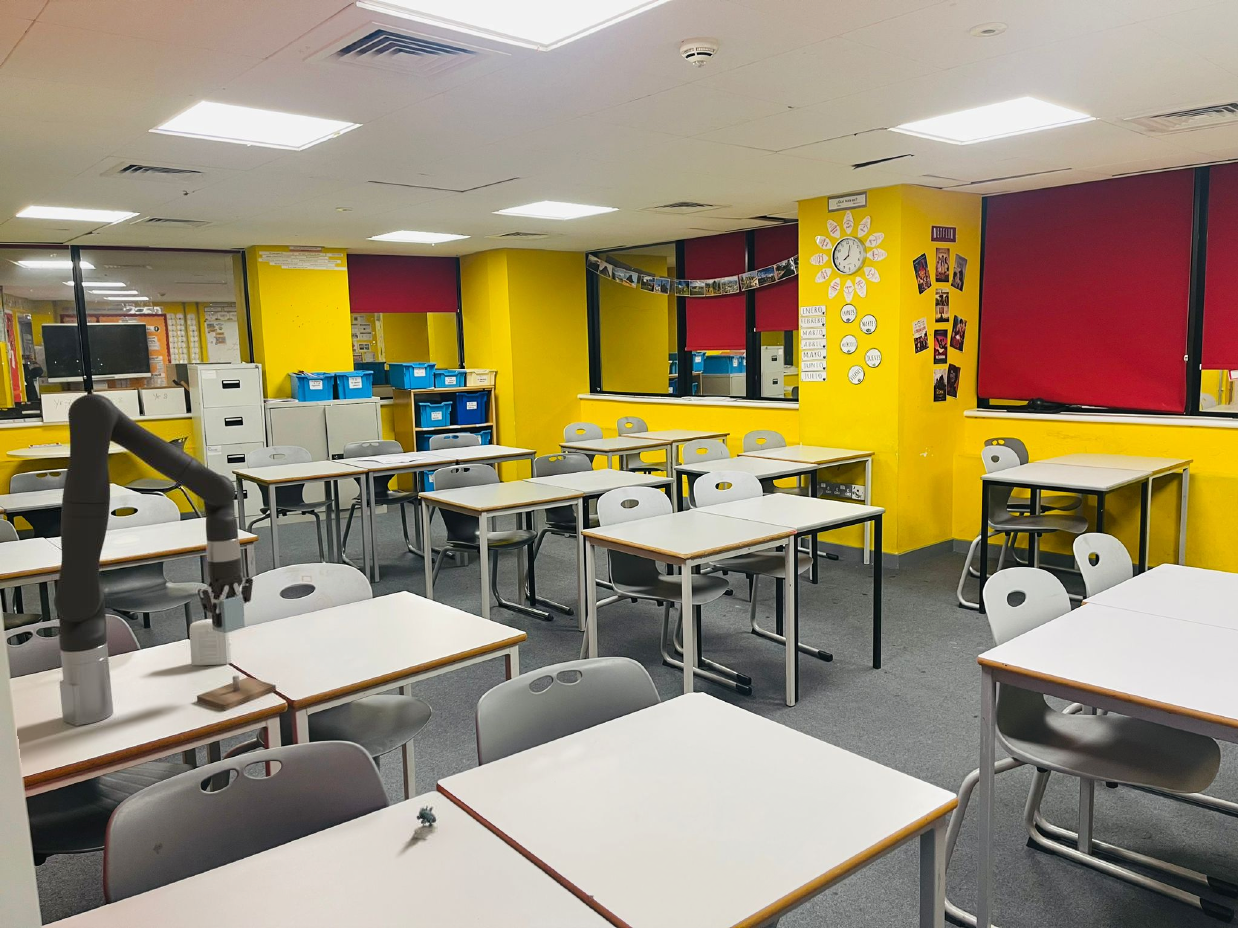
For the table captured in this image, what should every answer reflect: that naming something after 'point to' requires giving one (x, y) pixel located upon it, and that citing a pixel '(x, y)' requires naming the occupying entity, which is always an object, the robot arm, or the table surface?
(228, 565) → the robot arm
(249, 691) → the walnut pin plate
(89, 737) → the table surface
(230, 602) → the jaw block
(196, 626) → the white rounded block
